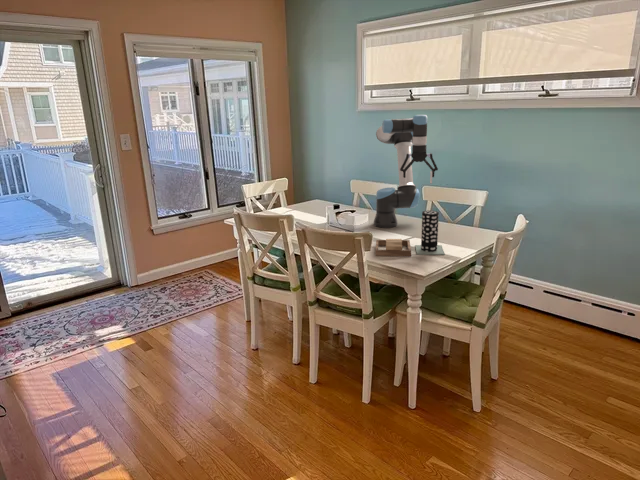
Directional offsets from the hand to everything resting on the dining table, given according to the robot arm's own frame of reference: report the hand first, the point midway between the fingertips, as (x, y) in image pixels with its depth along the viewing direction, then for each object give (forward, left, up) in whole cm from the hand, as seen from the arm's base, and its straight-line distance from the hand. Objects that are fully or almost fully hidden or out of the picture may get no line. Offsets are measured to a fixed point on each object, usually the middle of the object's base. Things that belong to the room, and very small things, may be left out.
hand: (418, 183), depth 246 cm
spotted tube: (+22, +5, -31) cm, 39 cm away
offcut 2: (+27, -14, -29) cm, 42 cm away
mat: (+22, +5, -32) cm, 39 cm away
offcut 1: (+27, -14, -27) cm, 41 cm away
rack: (+23, -14, -32) cm, 41 cm away
